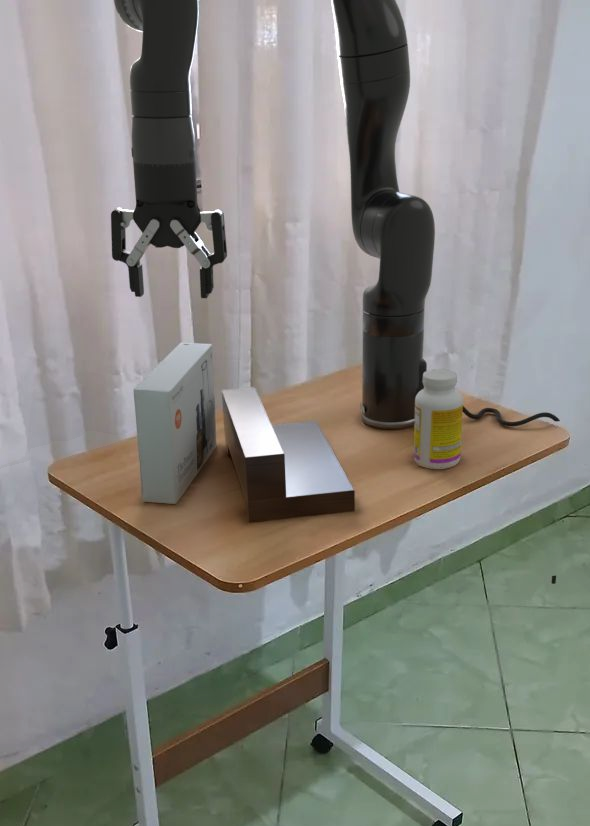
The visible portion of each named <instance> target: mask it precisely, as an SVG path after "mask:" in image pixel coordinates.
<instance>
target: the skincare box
mask: <svg viewBox="0 0 590 826" xmlns="http://www.w3.org/2000/svg"><path fill="white" fill-rule="evenodd" d="M213 347H214V346H213V343H200V342H199V343H198V342H187V341H186V342H184V341H181V342H179V344H177V346H175V347H174V348H173V349H172V350H171V351H170V352H169V353H168V354H167V355H166V356H165V357H164V358H163V359H162V360H161V361H160V362H159V363H158V364H157V365H156V366H155V367H154V368H153V369H152V370H151V371H150V372H149V373H148V374H147V375H146V376H145V377H144V378H143V379H142V380H141V381H140V382H139V383H138V384H137V385H136V386H135V387H134V388H133V400H134V413H135V414H134V415H135V424H136V425H135V426H136V438H137V447H138V449H137V450H138V459H139V472H140V473H139V474H140V487H141V500H142V502H145V503H158V504H159V503H160V504H171V505H177V504H178V502H179V501H180V499H181V498H182V497H183V495H184V493H185V492H186V491H187V489H188V488H189V487H190V485H191V483H192V482H193V481H194V480H195V479H196V477H197V475H198V474H199V472H200V471H201V470H202V468H203V467H204V465H205V464H206V462H207V461H208V460H209V458H210V457H211V455H212V454H213V453H214V451H215V450H216V448H217V447H218V445H217V424H216V423H217V421H216V400H215V399H216V398H215V397H216V396H215V375H214V371H215V370H214V349H213Z"/></svg>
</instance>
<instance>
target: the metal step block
mask: <svg viewBox="0 0 590 826" xmlns="http://www.w3.org/2000/svg"><path fill="white" fill-rule="evenodd" d="M220 391H221V402H222V417H223V430H224V443H225V451H226V453H227V456H231V460H232V463H233V467H234V469H235V472H236V476H237V479H238V481H239V484H240V488H241V491H242V495H243V497H244V500H245V513H246V515H247V519H248V523H258V522H266V521H275V520H276V521H277V520H285V519H293V518H295V519H296V518H302V517H303V518H304V517H312V516H322V515H331V514H339V513H348V512H350V513H351V512H355V511H356V510H355V509H356V499H355V498H356V497H355V495H356V494H355V493H356V490H355V489H354V486H353V485H352V482H351V481H350V479H349V478H348V476H347V474H346V472H345V470H344V468H343V466H342V465H341V463H340V461H339V458H338V457H337V456H336V453H335V452H334V450H333V449H332V447H331V444H330V443H329V441H328V438H327V437H326V435H325V434H324V431H323V430H322V428H321V426H320V424H319V423H318V421H317V420H305V421H295V422H283V423H273V424H272V422H271V420H270V418H269V415H268V413H267V411H266V409H265V408H266V407H264V403H263V401H262V399H261V397H260V395H259V392H258V390H257V388H256V386H250V387H239V388H238V387H237V388H227V389H226V388H225V389H221V390H220Z"/></svg>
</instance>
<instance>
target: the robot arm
mask: <svg viewBox="0 0 590 826" xmlns="http://www.w3.org/2000/svg"><path fill="white" fill-rule="evenodd" d="M200 1H201V0H113V2H114V7H115V10H116V13H117V14H118V16H119V18H120V19H121V21H122V22H123V23H124V24H125V25H126V26H127V27H129V28H131V29H133V30H135V31H137V32H141V34H142V35H141V51H140V56H139V58H138V59H137V60H135V61H134V62H133V63H132V64H131V66H130V70H129V90H130V92H129V93H130V106H131V107H130V108H131V115H132V116H131V157H132V166H133V178H134V179H133V180H134V190H135V191H134V193H135V206H134V207H135V208H134V209H125V208H123V207H121V206H120V207H116V208H114V209H113V210H112V211H111V213H110V235H111V257H112V259H113V260H114V261H116V262H120V263H121V262H122V263H124V264H125V265H126V266H127V269H128V283H129V290H130V291H131V293H134V296H135V297H136V298H142V297H143V295H145V285H144V274H143V273H144V272H143V271H144V269H143V264H142V263H141V261H140V260H141V259H142V257H143V256H144V254H145V253H146V251H147V250H148V249H149V248H150V246H151V245H152V246H154V247H155V248H156V249H157V248H158V249H159V248H160V249H161V248H165V247H169V248H173V249H181V248H183V247H184V246H185V248H186V249H187V250H188V252H189V253H190V254H191V255H192V256H193V257H194V259H196V261H197V262H198V264H200V267H199V288H200V298H201V299H208V297H209V295H211V294H212V293H213V291H214V287H215V285H214V283H215V282H214V266H216V265H218V264H222V263H223V262H224V261H225V260H226V259H227V258H228V249H227V248H228V247H227V235H226V225H225V224H226V223H225V214H224V211H223V210H222V209H220V208H217V209H215V210H214V211H201V208H200V207H199V202H198V184H197V183H198V182H197V181H198V180H197V160H196V138H195V130H194V124H193V116H192V113H193V112H192V92H191V78H190V77H191V69H192V64H193V60H194V55H195V46H196V40H197V33H198V25H199V2H200ZM330 1H331V8H332V14H333V15H332V17H333V22H334V23H333V24H334V31H335V41H336V42H335V43H336V55H337V61H338V71H339V79H340V87H341V93H342V100H343V107H344V116H345V126H346V137H347V145H348V154H349V155H348V156H349V168H350V169H349V170H350V172H349V173H350V208H351V209H350V210H351V211H350V212H351V213H350V214H351V216H350V217H351V226H352V227H351V228H352V233H353V236H354V240H355V242H356V244H357V246H358V247H359V249H360V250H361V251H362V252H364V253H365V254H366V255H368V256H369V257H372V258H376V259H379V268H378V269H379V270H378V279H377V282H376V283H373V284H371V285H368V286H367V287H365V289H364V290H363V293H362V363H361V364H362V365H361V367H362V371H361V372H362V376H361V377H362V382H361V383H362V384H361V386H362V387H361V389H362V391H361V393H362V396H361V397H362V398H361V401H362V402H359V408H360V410H361V421H362V422H363V423H364V424H366V425H367V426H370V427H373V428H376V429H377V428H378V429H385V430H397V429H405V428H410V427H414V425H415V398H416V395H417V394H418V392H419V391H421V390H422V389H424V385H423V382H422V381H423V373H424V372H426V371H428V370H427V368H428V364H427V361H426V360H425V359H424V337H425V335H424V334H425V309H426V308H425V307H426V298H427V295H428V293H429V290H430V288H431V285H432V275H433V265H434V252H435V242H436V241H435V240H436V226H435V224H436V223H435V217H434V213H433V211H432V208H431V206H430V205H429V203H428V202H427V201H426V200H425V199H423V198H422V197H419V196H416V195H414V194H409V193H404V192H400V188H399V182H398V175H397V163H396V142H397V137H398V133H399V129H400V126H401V123H402V120H403V117H404V114H405V111H406V107H407V103H408V100H409V94H410V90H411V89H410V88H411V68H410V67H411V66H410V55H409V44H408V43H409V41H408V34H407V29H406V24H405V20H404V18H403V15H402V12H401V10H400V8H399V5H398V3H397V0H330ZM132 220H133V222H134V223H135V225H136V226H137V228H138V229H139V230H140V232H141V233H142V234H141V235H140V237H139V238H138V240H137V241H136V242H135V245H134V246H133V249H132V250H131V251H129V250H127V241H126V240H127V238H126V237H127V235H126V234H127V233H126V229H128V227H130V225H131V221H132ZM202 222H203V223H204V224H205V226H206V229H207V230H208V231H211V233H212V235H211V236H212V243H213V252H212V253H211V252H210V251H209V250H208V249H207V247H206V246H205V244H204V242H203V241H202V239H201V238H200V236H199V235H198V234H197V232H196V231H197V229H198V228H199V226H200V224H201V223H202ZM462 413H463V414H464V415H465V416H466V417H468V418H470V419H472V420H478V419H480V418H482V416H483V415H484V414H486V413H492V414H494V415H495V417H496V421H497V422H498V423H499V425H502V426H505V427H519V426H523V425H525V424H526V425H527V424H528V423H530V422H533V421H536V420H537V419H541V418H549V419H551V420H552V421H554V422H560V418H559V417H557V416H556V415H555V414H553V413H551V412H545V411H544V412H539V413H535V414H533V415H530V416H528V417H526V418H524V419H520V420H517V421H506V420H505V419H503V418H502V416H501V415H502V414H501V412H500V411H499V410H498V409H496V408H495V407H494V408H493V407H485V408H482V409H481V410H480V411H479V412H478V413H476V414H474V413H471V412H470V411H469V410H468V408H466V407H465V406H464V405H463V412H462ZM556 583H557V575H551V584H552V585H555V584H556Z"/></svg>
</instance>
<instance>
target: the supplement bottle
mask: <svg viewBox="0 0 590 826" xmlns="http://www.w3.org/2000/svg"><path fill="white" fill-rule="evenodd" d="M422 382H423V385H424V389H422V390H421V391H419V392H418V394H417V395H416V398H415V425H413V427H414V431H413V460H414V462H415V463H416V465H418V466H420V467H421V468H425V469H429V470H446V469H450V468H453V467H455V466H456V465H458V464H459V462H460V461H461V449H462V433H463V431H462V430H463V413H464V412H463V406H464V397H463V395H462V393H461V392H460V390H457V389H456V385H457V383H458V373H457V371H456V372H455V371H454V370H451V369H447V368H434V369H428V370H427V371H426V372H424V373H423V381H422Z"/></svg>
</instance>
